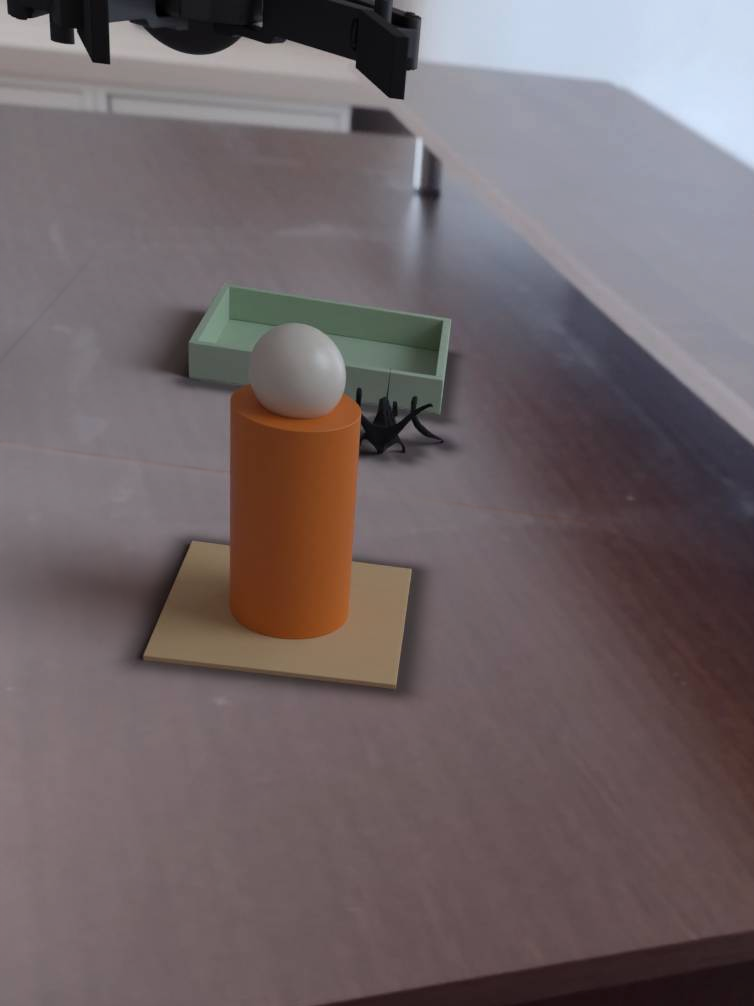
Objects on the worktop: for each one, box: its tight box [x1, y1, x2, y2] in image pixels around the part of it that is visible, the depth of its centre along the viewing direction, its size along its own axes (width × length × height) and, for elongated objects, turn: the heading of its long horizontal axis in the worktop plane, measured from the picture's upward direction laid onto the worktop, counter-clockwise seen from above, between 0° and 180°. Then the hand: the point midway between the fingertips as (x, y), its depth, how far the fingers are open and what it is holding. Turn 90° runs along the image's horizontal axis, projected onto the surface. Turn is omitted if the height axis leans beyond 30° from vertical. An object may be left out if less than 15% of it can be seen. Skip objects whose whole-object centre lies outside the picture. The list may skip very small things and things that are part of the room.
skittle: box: [229, 323, 362, 639], centre depth 64 cm, size 6×6×15 cm
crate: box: [187, 283, 452, 415], centre depth 95 cm, size 17×13×3 cm
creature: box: [356, 368, 445, 455], centre depth 86 cm, size 8×5×8 cm
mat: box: [142, 540, 413, 690], centre depth 69 cm, size 12×12×1 cm
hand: (256, 50), depth 61 cm, fingers open, 13 cm apart
